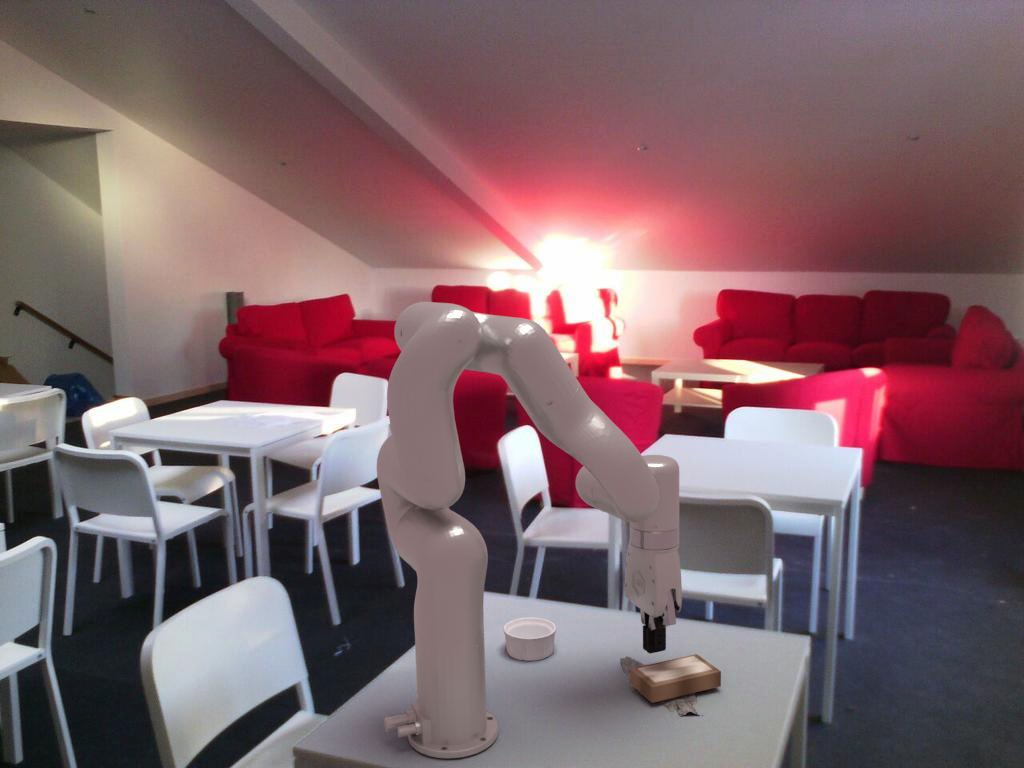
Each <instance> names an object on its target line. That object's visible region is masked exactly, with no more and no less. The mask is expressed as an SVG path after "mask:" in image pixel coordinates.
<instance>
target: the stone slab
mask: <svg viewBox="0 0 1024 768" xmlns="http://www.w3.org/2000/svg"><path fill="white" fill-rule="evenodd" d="M620 664H621V667H622V672H623V673H624V674H625V675H627V676H630V669H631V668H636V667H640V666H645V665H646V664H643V663H642V662H640V661H638V660H637V659H635V658H633V657H631V656H625V657H622V658H620ZM632 693H637V694H641V693H640V692H639V691H638V690H637V689H636V688H634V689H632ZM658 704H659V705H662V706H663V707H664V708H667V709H668V710H669V711H670V712H673V713H674V712H675V711H676V713H677V715H678V717H681V716H685V715H687V713H692V714H694V715H696V716H699V717H700V716H701V717H703V716H704V715H703V714H701V715H700V714H699V713H698V712H697V711H696V709H695V706H696V705H698V706H697V707H699V706H700V705H699V702H698V699H697V696H696V695H695V693H691V694H687V695H683V696H678V697H674V698H670V699H666V700H662V701H658ZM693 705H694V707H693Z"/></svg>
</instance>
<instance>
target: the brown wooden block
mask: <svg viewBox="0 0 1024 768" xmlns="http://www.w3.org/2000/svg"><path fill="white" fill-rule="evenodd" d="M644 665H645V666H640V667H636V668H631V669H630V674H629V684H630V685H631V686H632V687H633V688H634V689H637V690H638V691H639V692H640V693H639V694H641V695H642V696H644V697H645V698H646V699H647V700H648V701H649V702H651V704H652V703H653V704H654V703H657V702H659V701H662V700H666V699H670V698H674V697H678V696H683V695H687V694H691V693H694V694H695V693H699V692H703V691H707V690H712V689H715V688H716V689H717V688H719V687H722V685H721V684H722V671H721V670H720V669H718V668H717V667H715V666H714V665H713V664H711V663H710V662H708V661H707V660H706V659H704V658H703V657H701V656H700V655H699V654H690V655H686V656H681V657H678V658H673V659H669V660H668V659H667V660H663V661H659V662H654V663H650V664H644Z"/></svg>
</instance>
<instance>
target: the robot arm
mask: <svg viewBox="0 0 1024 768" xmlns="http://www.w3.org/2000/svg"><path fill="white" fill-rule="evenodd" d="M393 333H394V339H395V342H396V345H397V347H398V349H399V350H400V354H399V356H398V357H397V359H396V361H395V363H394V366H393V367H392V370H391V372H390V375H389V378H388V383H387V389H386V391H387V392H386V401H387V403H386V405H387V412H388V419H389V425H390V433H391V434H390V435H389V436H388V437H387V438H386V439H385V440H384V442H383V443H382V445H381V447H380V448H379V451H378V454H377V459H376V476H377V481H378V487H379V493H380V498H381V502H382V507H383V511H384V515H385V521H386V524H387V525H386V526H387V531H388V534H389V538H390V540H391V543H392V546H393V548H394V550H395V551H396V553H397V554H398V555H399V556H400V558H401V559H402V560H403V561H404V562H406V563H407V564H408V566H410V567H411V568H412V569H413V570H414V571H415V572H416V576H417V585H416V586H417V587H416V592H415V597H414V598H415V599H414V605H413V624H414V625H413V626H414V627H413V629H414V646H415V647H414V648H415V670H416V671H415V672H416V693H417V695H416V696H417V700H415V701H412V702H411V709H410V710H406V711H405V714H399V715H397V714H395V715H392V716H386V717H384V718H383V726H384V730H385V733H390V732H394V731H395V732H396V733H397V737H398V738H404V737H407V739H408V742H409V744H410V746H411V747H412V748H413V749H414V750H415V751H417V752H419V753H421V754H422V755H425V756H428V757H431V758H437V759H460V758H465V757H469V756H473V755H475V754H479V753H481V752H483V751H484V750H486V749H488V748H489V747H491V746H492V745H493V744H494V743H495V742H496V740H497V737H499V736H498V735H499V722H498V720H497V718H496V717H495V716H494V715H493V714H492V713H490V712H489V711H488V710H487V689H486V688H487V686H486V654H485V653H486V652H485V626H484V625H485V624H484V623H485V621H484V620H485V619H484V617H485V616H484V599H485V598H484V596H485V595H484V594H485V593H484V591H485V583H486V577H487V570H488V561H489V560H488V559H489V556H488V548H487V544H486V541H485V539H484V538H483V535H482V534H481V532H480V530H478V528H477V527H476V526H475V525H474V524H473V523H472V522H470V521H469V520H468V519H466V518H465V517H463V516H462V515H460V514H458V513H456V512H455V511H453V510H451V509H450V507H451V506H453V505H454V504H455V503H456V502H458V501H459V499H460V498H461V496H462V494H463V492H464V490H465V483H466V471H465V465H464V461H463V455H462V450H461V445H460V440H459V434H458V429H457V425H456V419H455V409H454V391H455V387H456V384H457V382H458V380H459V377H460V376H461V375H462V373H463V372H464V370H466V371H468V370H469V371H476V372H482V373H483V372H484V373H489V374H493V375H497V376H498V375H499V376H500V377H501V378H502V379H503V380H504V381H505V383H506V384H507V386H508V387H509V388H510V391H511V392H512V393H513V395H514V396H515V397H516V399H517V401H518V402H519V403H520V404H521V406H522V407H523V409H524V410H525V412H526V414H527V415H528V416H529V418H530V419H531V421H532V422H533V424H534V426H535V427H536V429H537V430H538V431H539V432H540V433H541V434H542V435H543V436H544V437H545V438H546V439H547V440H549V442H551V443H552V444H553V445H555V446H556V447H558V449H559V448H560V450H562V451H563V452H565V453H566V454H568V455H570V456H571V457H572V458H573V459H575V460H576V461H577V462H578V463H580V464H581V465H582V467H581V468H580V469H579V470H578V473H577V475H576V477H575V489H576V491H577V494H578V496H579V497H580V499H581V500H582V501H583V502H585V503H586V504H587V505H589V506H591V507H593V508H595V509H597V510H600V511H602V513H603V512H604V513H607V514H608V515H611V516H613V517H615V518H618V519H619V520H622V521H623V522H626V523H629V541H628V545H627V550H626V559H625V571H624V572H625V573H624V595H625V598H626V599H627V600H628V601H629V602H630V603H632V604H633V605H635V607H636V608H638V609H639V611H640V621H641V624H642V625H643V626H642V649H643V650H644V651H646V652H647V654H655V653H659V652H664V651H666V649H667V628H668V627H669V626H675V625H676V624H677V618H676V614H680V612H681V609H682V604H683V603H682V602H683V586H682V570H681V559H680V554H679V553H680V552H679V550H678V549H679V548H680V466H679V464H678V462H677V460H676V459H675V458H673V457H671V456H667V455H663V454H662V455H661V454H646V455H642V454H641V453H640V451H639V449H638V448H637V447H636V445H635V444H634V443H633V441H631V439H630V438H629V437H628V436H627V435H626V434H625V433H624V431H622V429H620V428H619V427H618V426H617V425H616V424H615V423H614V422H613V421H612V420H611V419H610V418H609V417H608V415H606V414H605V412H604V411H603V410H602V409H601V408H600V407H599V406H598V405H597V404H596V403H595V402H594V401H592V400H591V398H590V397H589V395H588V394H587V392H586V391H585V389H584V388H583V387H582V385H581V383H580V382H579V380H578V379H577V377H576V376H575V373H573V371H572V370H571V368H570V367H569V364H568V363H567V362H566V360H565V358H564V356H563V355H562V354H561V352H560V350H559V349H558V347H557V346H556V344H555V343H554V341H553V339H552V338H551V337H550V335H549V334H548V332H547V331H546V330H545V328H544V327H542V326H541V325H540V324H539V323H537V322H536V321H534V320H531V319H527V318H523V317H514V316H513V317H512V316H506V315H505V316H504V315H497V314H496V315H494V314H488V313H481V312H474V311H471V310H470V309H468V308H467V307H465V306H462V305H460V304H455V303H448V302H433V301H420V302H415V303H413V304H411V305H408V306H407V307H406V308H405V309H403V310H402V311H401V312H400V314H399V315H398V317H397V320H396V321H395V324H394V332H393Z"/></svg>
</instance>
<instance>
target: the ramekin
mask: <svg viewBox="0 0 1024 768" xmlns="http://www.w3.org/2000/svg"><path fill="white" fill-rule="evenodd" d="M556 632H557V626H556V624H555V623H553V622H552V621H551V620H548V619H545V618H542V617H532V616H531V617H530V616H529V617H528V616H526V617H520V618H515V619H512V620H510V621H508V622H507V623H505V625H504V626H503V633H504V638H505V648H506V651H507V654H508V655H509V657H511V658H513V659H515V660H519V661H523V660H524V661H525V662H533V661H540V660H543V659H546V657H547V658H548V657H550V656H551V655H552V654H553V652H554V648H555V637H556V635H555V634H556Z"/></svg>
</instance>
